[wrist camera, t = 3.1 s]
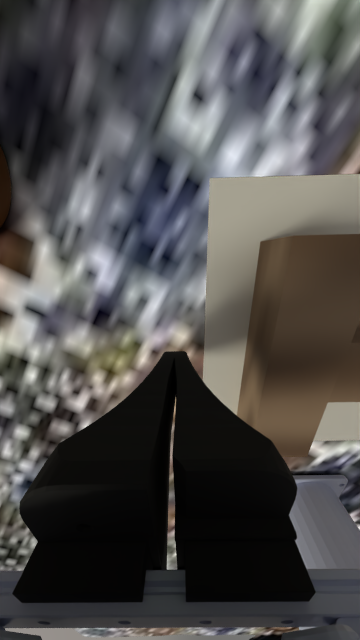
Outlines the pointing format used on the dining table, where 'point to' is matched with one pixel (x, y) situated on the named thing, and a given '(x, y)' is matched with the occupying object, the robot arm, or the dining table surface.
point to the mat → (241, 264)
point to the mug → (4, 188)
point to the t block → (301, 337)
